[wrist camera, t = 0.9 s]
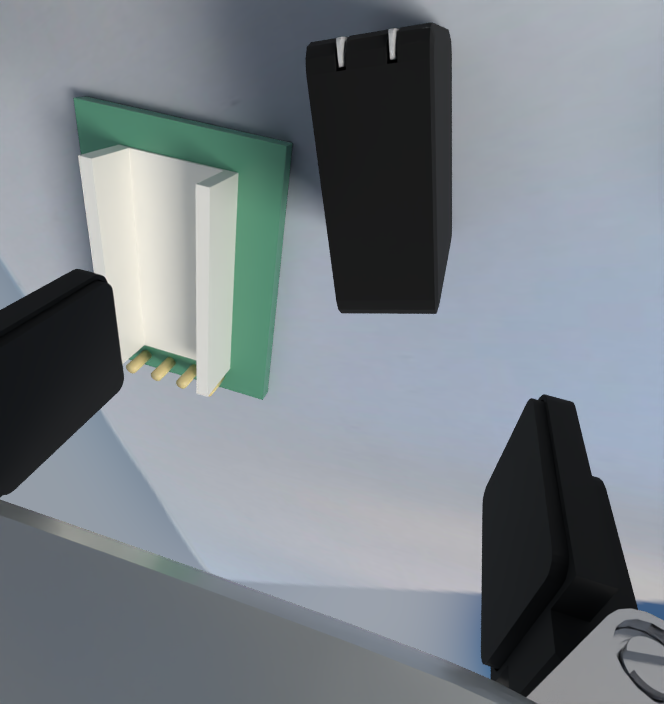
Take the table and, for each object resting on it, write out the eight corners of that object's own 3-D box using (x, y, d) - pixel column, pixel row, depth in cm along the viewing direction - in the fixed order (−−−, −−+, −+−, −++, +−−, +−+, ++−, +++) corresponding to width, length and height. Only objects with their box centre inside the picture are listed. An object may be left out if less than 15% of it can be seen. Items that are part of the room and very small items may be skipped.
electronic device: (379, 242, 29) (336, 320, 21) (363, 43, 24) (299, 42, 16) (452, 239, 27) (437, 321, 19) (452, 29, 22) (432, 20, 14)
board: (85, 96, 29) (26, 103, 25) (292, 143, 27) (262, 158, 23) (115, 346, 39) (76, 377, 35) (267, 391, 37) (243, 429, 33)
